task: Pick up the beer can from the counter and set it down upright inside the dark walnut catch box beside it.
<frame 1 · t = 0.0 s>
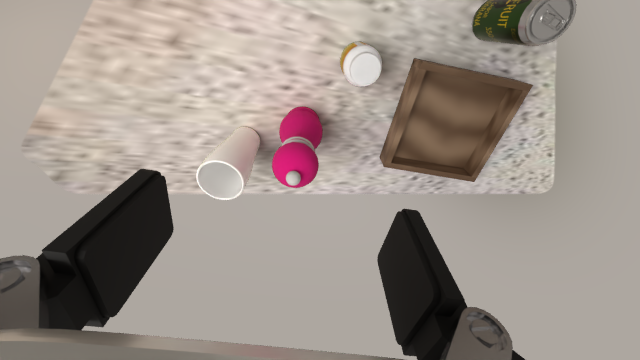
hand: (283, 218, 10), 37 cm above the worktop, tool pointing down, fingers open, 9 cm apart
pepper mill: (302, 123, 46), on the worktop
beer can: (487, 19, 38), on the worktop
supplement bottle: (356, 60, 41), on the worktop
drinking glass: (246, 138, 48), on the worktop
catch box: (442, 121, 46), on the worktop
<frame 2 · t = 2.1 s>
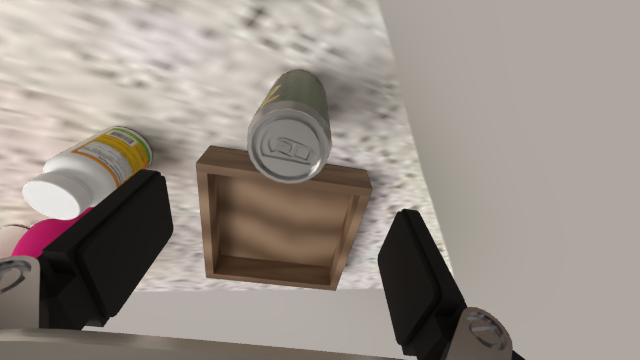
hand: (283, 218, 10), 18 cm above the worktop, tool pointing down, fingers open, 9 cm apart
pepper mill: (93, 219, 34), on the worktop
beer can: (299, 96, 26), on the worktop
supplement bottle: (129, 147, 28), on the worktop
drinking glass: (26, 236, 35), on the worktop
catch box: (282, 216, 34), on the worktop
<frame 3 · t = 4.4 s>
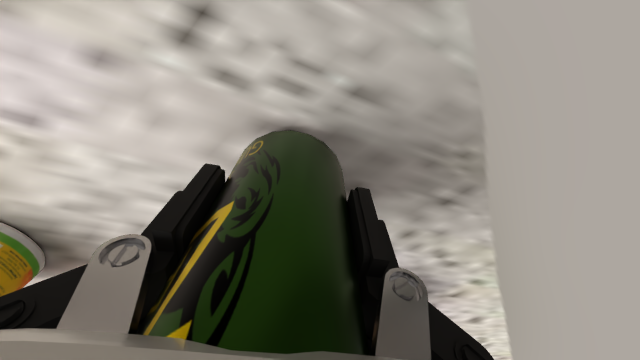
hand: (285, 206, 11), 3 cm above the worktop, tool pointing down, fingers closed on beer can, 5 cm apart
beer can: (292, 170, 14), on the worktop, touching gripper
supplement bottle: (4, 243, 17), on the worktop
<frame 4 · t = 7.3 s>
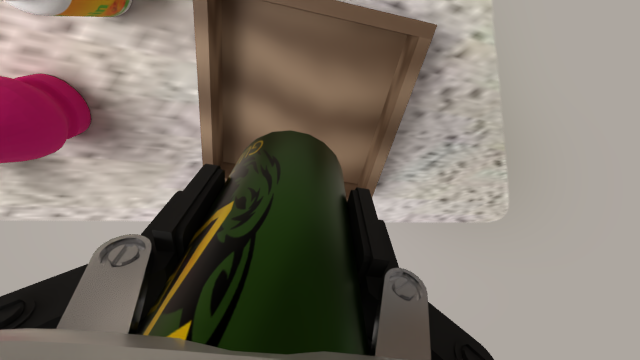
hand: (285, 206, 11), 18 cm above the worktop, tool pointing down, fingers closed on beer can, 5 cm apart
pepper mill: (60, 105, 26), on the worktop
beer can: (292, 170, 14), point 15 cm above the worktop, touching gripper
catch box: (303, 104, 26), on the worktop
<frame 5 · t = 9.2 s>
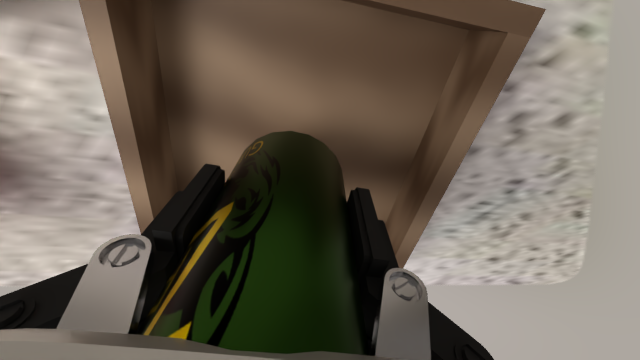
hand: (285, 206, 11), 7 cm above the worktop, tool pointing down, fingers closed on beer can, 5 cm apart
beer can: (292, 171, 14), point 4 cm above the worktop, touching gripper
catch box: (296, 138, 17), on the worktop
when the fingers open (5 cm above the worktop, at t = 10.5 s): beer can drops 1 cm, resting on catch box.
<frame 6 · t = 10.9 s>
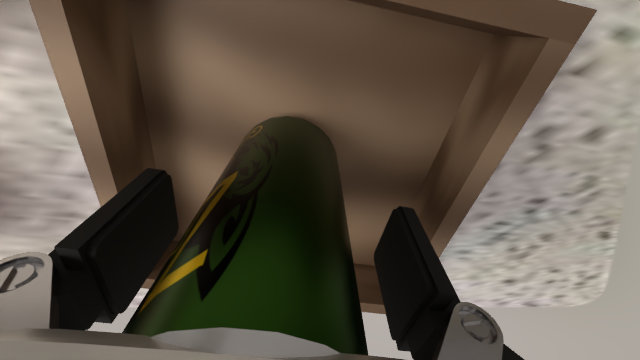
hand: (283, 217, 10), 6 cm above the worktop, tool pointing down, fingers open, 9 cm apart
beer can: (290, 156, 15), point 1 cm above the worktop, touching catch box
catch box: (295, 154, 15), on the worktop
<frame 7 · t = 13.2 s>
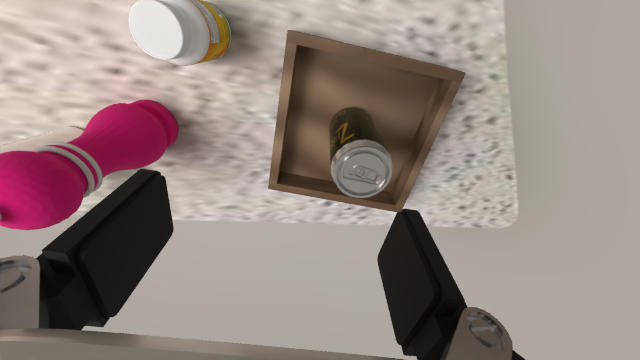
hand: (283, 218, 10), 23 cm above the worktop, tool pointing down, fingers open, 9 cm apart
pepper mill: (154, 123, 33), on the worktop
beer can: (350, 126, 32), point 1 cm above the worktop, touching catch box
supplement bottle: (208, 31, 27), on the worktop
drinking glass: (83, 143, 34), on the worktop
catch box: (351, 126, 32), on the worktop
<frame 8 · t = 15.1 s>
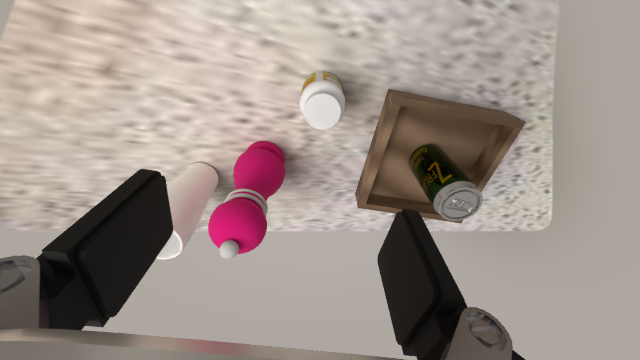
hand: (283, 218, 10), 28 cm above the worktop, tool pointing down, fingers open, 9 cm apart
pepper mill: (265, 158, 41), on the worktop
beer can: (424, 157, 40), point 1 cm above the worktop, touching catch box
supplement bottle: (321, 90, 35), on the worktop
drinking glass: (203, 174, 43), on the worktop
catch box: (424, 156, 40), on the worktop
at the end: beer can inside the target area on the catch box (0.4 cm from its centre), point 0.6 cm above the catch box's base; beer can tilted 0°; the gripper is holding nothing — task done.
